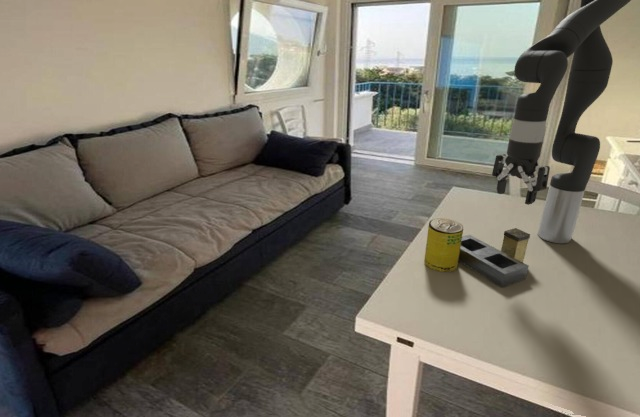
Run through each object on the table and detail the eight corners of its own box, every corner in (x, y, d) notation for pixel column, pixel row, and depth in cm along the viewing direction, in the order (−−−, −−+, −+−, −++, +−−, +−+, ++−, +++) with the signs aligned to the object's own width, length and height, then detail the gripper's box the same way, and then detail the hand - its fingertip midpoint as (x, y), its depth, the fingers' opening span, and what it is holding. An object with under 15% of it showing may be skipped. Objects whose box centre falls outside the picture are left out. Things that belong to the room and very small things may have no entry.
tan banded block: (509, 255, 111) (515, 227, 108) (523, 262, 107) (530, 234, 104) (498, 259, 109) (504, 231, 106) (512, 266, 105) (519, 237, 102)
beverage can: (460, 260, 108) (466, 222, 104) (453, 275, 101) (459, 235, 97) (429, 252, 113) (433, 215, 108) (420, 266, 106) (424, 227, 101)
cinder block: (467, 246, 116) (469, 234, 115) (525, 278, 100) (528, 265, 98) (445, 252, 113) (446, 240, 111) (501, 287, 96) (504, 274, 94)
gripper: (564, 141, 89) (548, 204, 96) (512, 130, 101) (501, 187, 107) (542, 145, 86) (528, 210, 93) (492, 134, 98) (482, 192, 104)
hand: (514, 198), depth 100 cm, fingers open, 8 cm apart
